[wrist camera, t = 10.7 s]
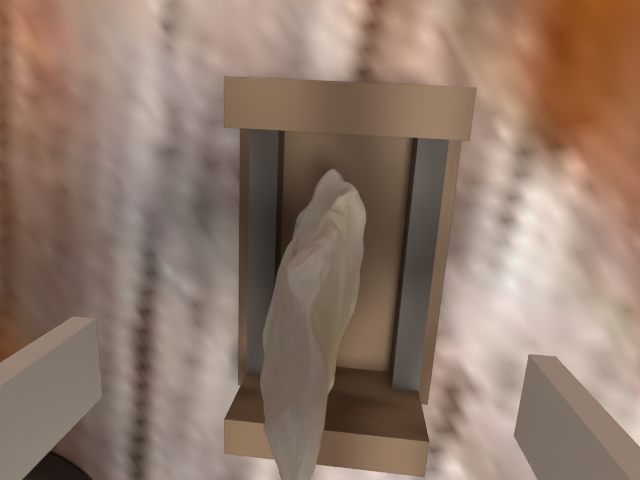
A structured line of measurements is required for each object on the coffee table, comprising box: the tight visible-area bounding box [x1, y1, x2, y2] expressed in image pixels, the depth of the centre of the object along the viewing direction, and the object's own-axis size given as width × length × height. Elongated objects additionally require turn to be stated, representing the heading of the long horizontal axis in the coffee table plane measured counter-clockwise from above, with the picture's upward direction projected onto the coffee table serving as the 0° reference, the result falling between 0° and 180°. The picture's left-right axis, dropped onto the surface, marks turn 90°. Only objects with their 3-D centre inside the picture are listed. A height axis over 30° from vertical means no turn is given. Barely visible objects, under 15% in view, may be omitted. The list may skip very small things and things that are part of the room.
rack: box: [224, 76, 477, 477], centre depth 23 cm, size 12×18×7 cm, turn 177°
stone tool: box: [260, 169, 366, 480], centre depth 18 cm, size 11×4×15 cm, turn 173°
